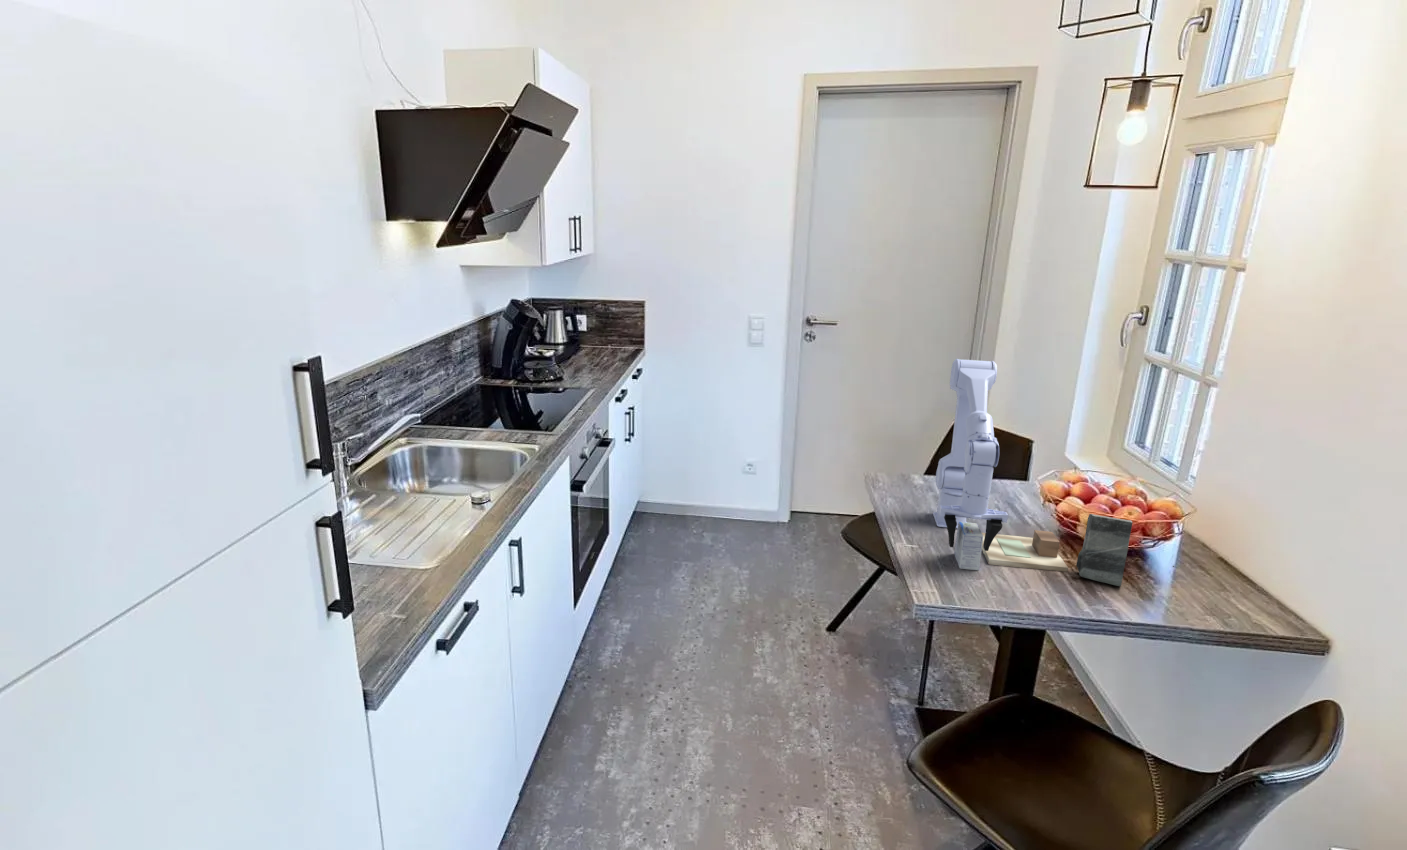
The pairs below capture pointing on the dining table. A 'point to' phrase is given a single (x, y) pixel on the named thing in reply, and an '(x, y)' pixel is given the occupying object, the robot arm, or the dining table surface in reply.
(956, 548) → the medicine box
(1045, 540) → the walnut block
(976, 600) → the dining table surface
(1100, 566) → the stone block
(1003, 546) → the base board
